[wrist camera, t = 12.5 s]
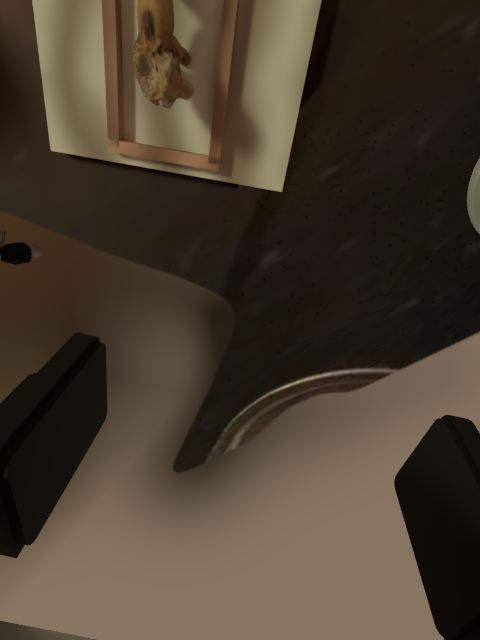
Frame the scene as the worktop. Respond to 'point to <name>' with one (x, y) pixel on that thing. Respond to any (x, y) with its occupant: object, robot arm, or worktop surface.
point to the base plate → (203, 72)
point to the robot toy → (17, 251)
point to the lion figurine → (159, 55)
